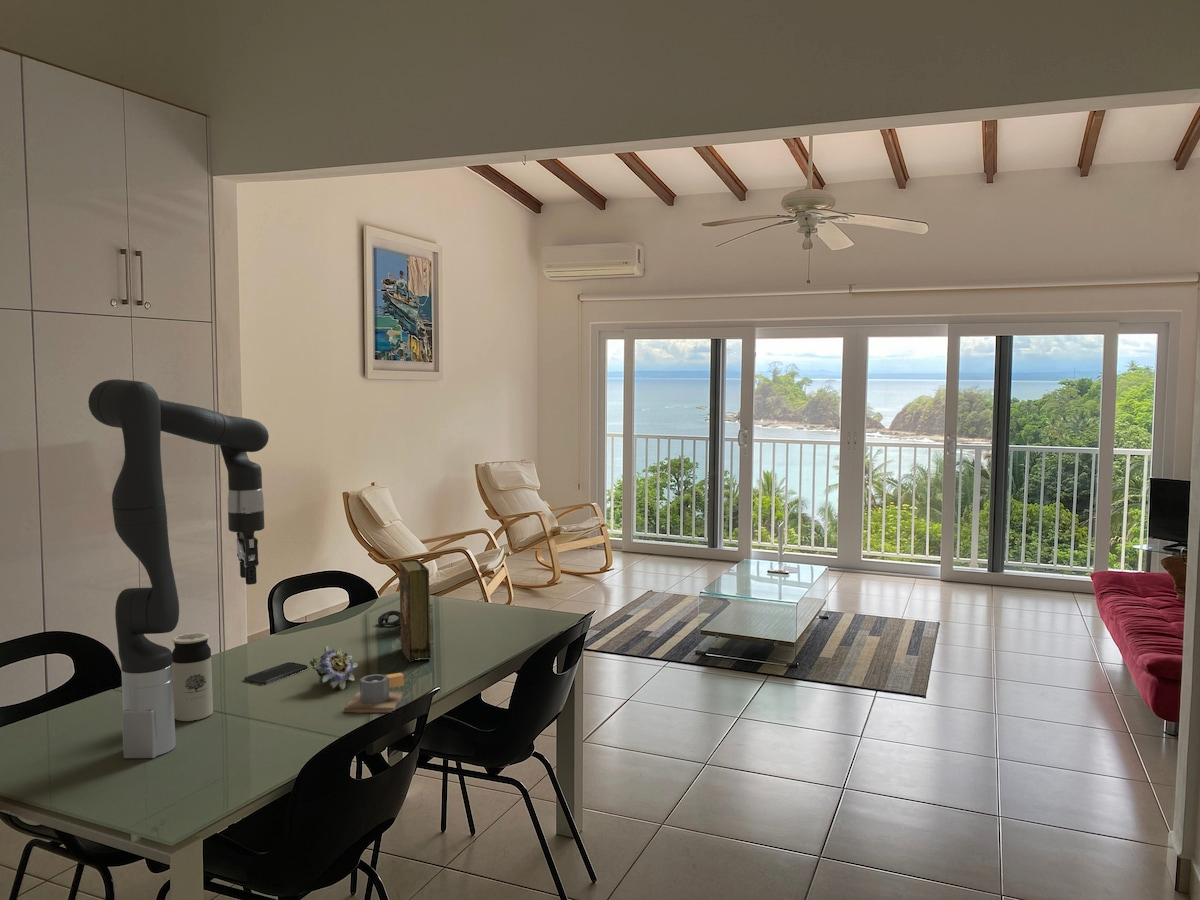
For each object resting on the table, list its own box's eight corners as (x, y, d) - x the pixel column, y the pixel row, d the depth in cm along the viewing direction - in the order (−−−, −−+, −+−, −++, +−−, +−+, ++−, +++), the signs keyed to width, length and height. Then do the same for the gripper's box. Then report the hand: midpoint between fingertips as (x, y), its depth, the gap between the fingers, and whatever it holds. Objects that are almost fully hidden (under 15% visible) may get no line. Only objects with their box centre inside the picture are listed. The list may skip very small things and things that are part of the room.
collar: (365, 706, 202) (364, 684, 201) (358, 698, 207) (357, 677, 207) (406, 698, 207) (406, 677, 206) (398, 691, 212) (398, 670, 211)
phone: (310, 666, 233) (263, 682, 220) (310, 670, 233) (263, 686, 220) (289, 661, 236) (242, 677, 223) (289, 665, 237) (242, 682, 223)
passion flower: (342, 710, 217) (326, 681, 209) (309, 696, 222) (292, 666, 214) (371, 675, 224) (357, 645, 217) (338, 661, 229) (323, 632, 221)
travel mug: (175, 712, 201) (172, 634, 200) (214, 707, 204) (211, 630, 203) (172, 724, 194) (169, 643, 193) (212, 719, 197) (209, 639, 196)
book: (400, 647, 251) (398, 560, 250) (419, 645, 253) (417, 558, 252) (410, 663, 236) (408, 571, 235) (430, 661, 238) (428, 569, 237)
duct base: (393, 712, 200) (392, 688, 200) (344, 712, 200) (343, 688, 200) (404, 695, 211) (403, 672, 211) (358, 695, 211) (357, 672, 211)
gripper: (224, 507, 203) (226, 577, 204) (232, 514, 191) (234, 588, 192) (258, 504, 207) (260, 573, 208) (269, 511, 195) (271, 584, 196)
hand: (248, 580), depth 200 cm, fingers open, 8 cm apart
